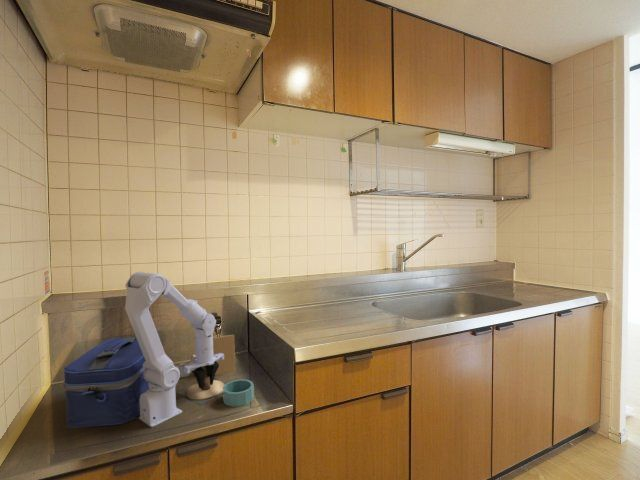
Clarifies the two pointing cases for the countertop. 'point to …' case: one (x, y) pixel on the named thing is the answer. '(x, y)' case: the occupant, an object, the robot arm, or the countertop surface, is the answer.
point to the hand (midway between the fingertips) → (205, 386)
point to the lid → (205, 390)
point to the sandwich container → (225, 353)
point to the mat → (184, 393)
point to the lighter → (181, 366)
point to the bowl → (238, 392)
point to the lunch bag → (105, 384)
